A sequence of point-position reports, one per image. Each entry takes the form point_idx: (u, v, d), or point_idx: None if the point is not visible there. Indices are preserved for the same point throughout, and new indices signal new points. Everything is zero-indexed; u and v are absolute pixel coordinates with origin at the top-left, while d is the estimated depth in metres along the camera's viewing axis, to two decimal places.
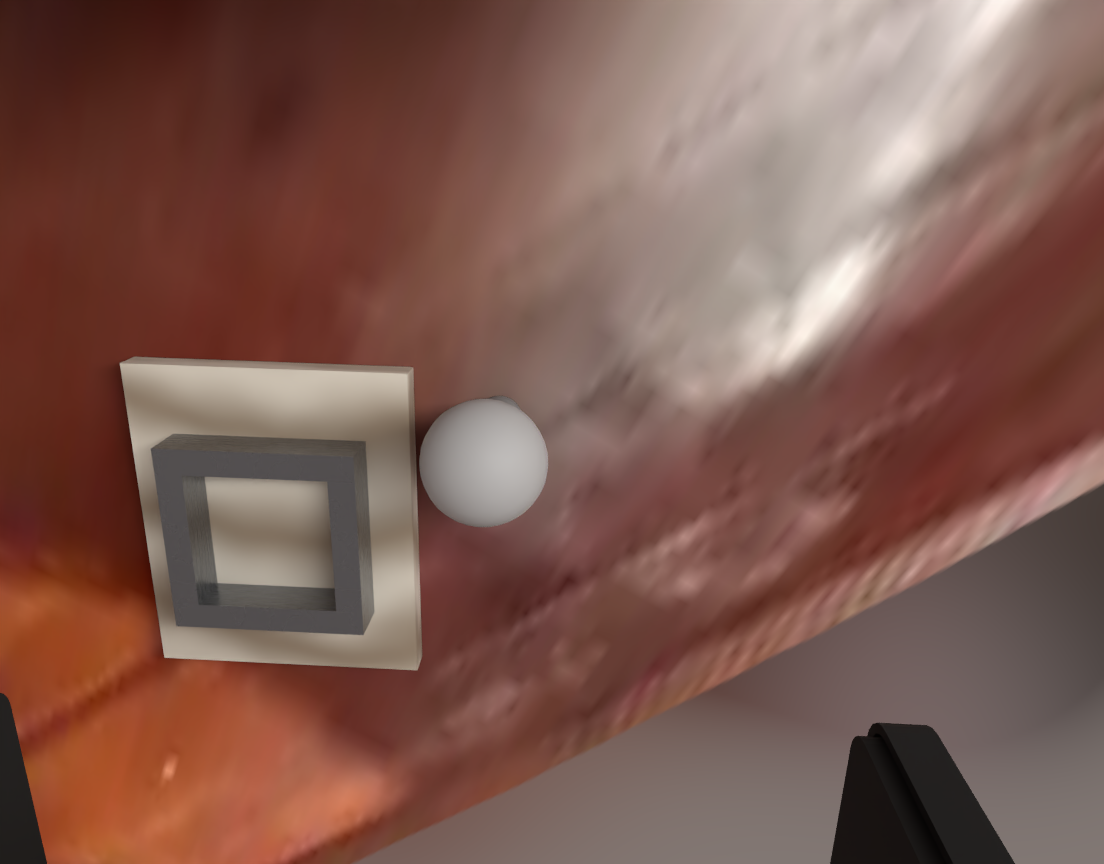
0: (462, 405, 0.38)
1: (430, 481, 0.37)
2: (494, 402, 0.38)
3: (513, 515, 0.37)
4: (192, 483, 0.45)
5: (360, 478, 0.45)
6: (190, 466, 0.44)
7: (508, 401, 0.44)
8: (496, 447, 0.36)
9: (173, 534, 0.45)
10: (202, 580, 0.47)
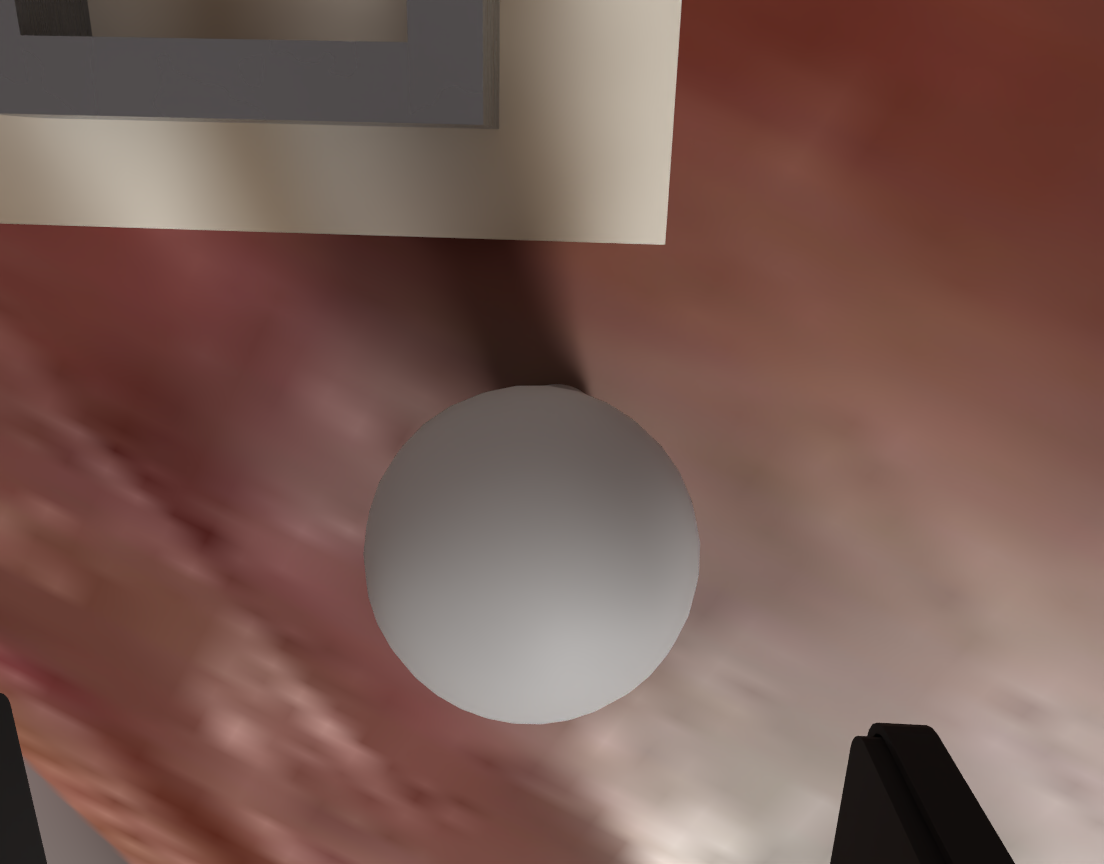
0: (694, 514, 0.14)
1: (511, 485, 0.12)
2: None
3: None
4: None
5: (413, 125, 0.18)
6: None
7: None
8: (621, 671, 0.13)
9: None
10: None
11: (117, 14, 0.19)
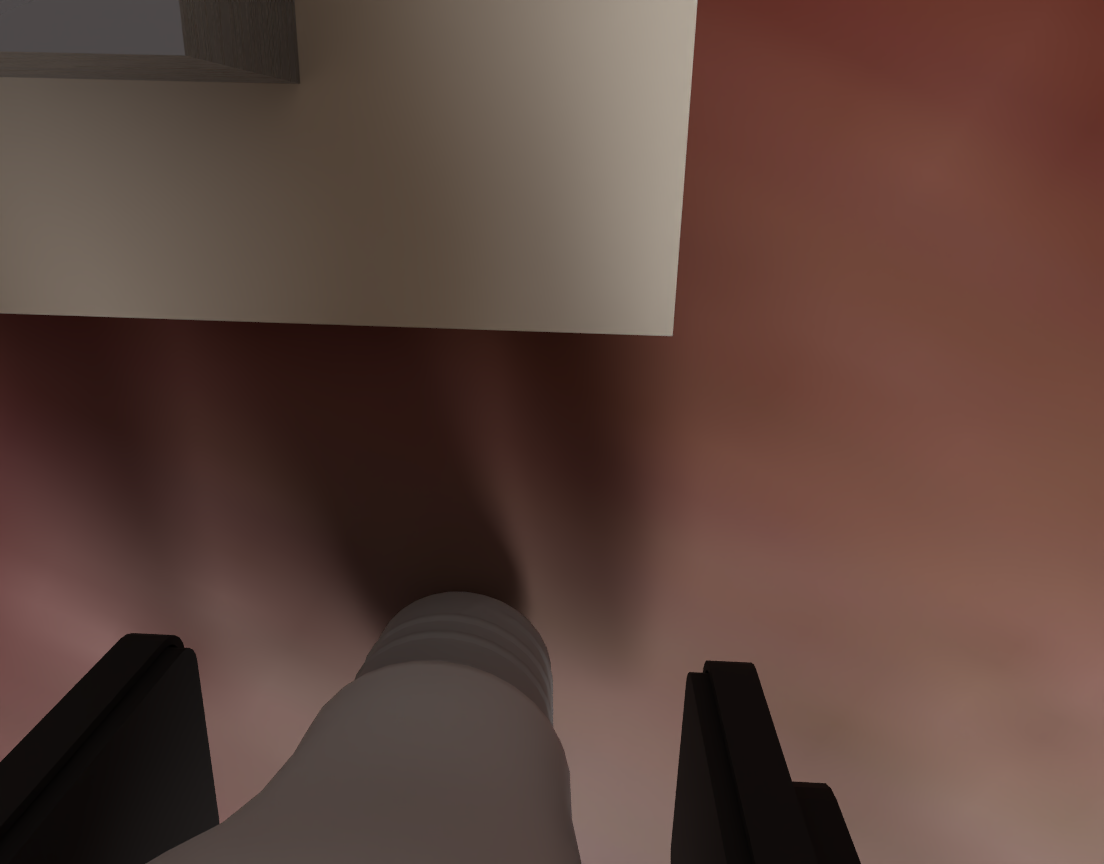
0: None
1: None
2: None
3: None
4: None
5: (54, 66, 0.07)
6: None
7: None
8: None
9: None
10: None
11: None
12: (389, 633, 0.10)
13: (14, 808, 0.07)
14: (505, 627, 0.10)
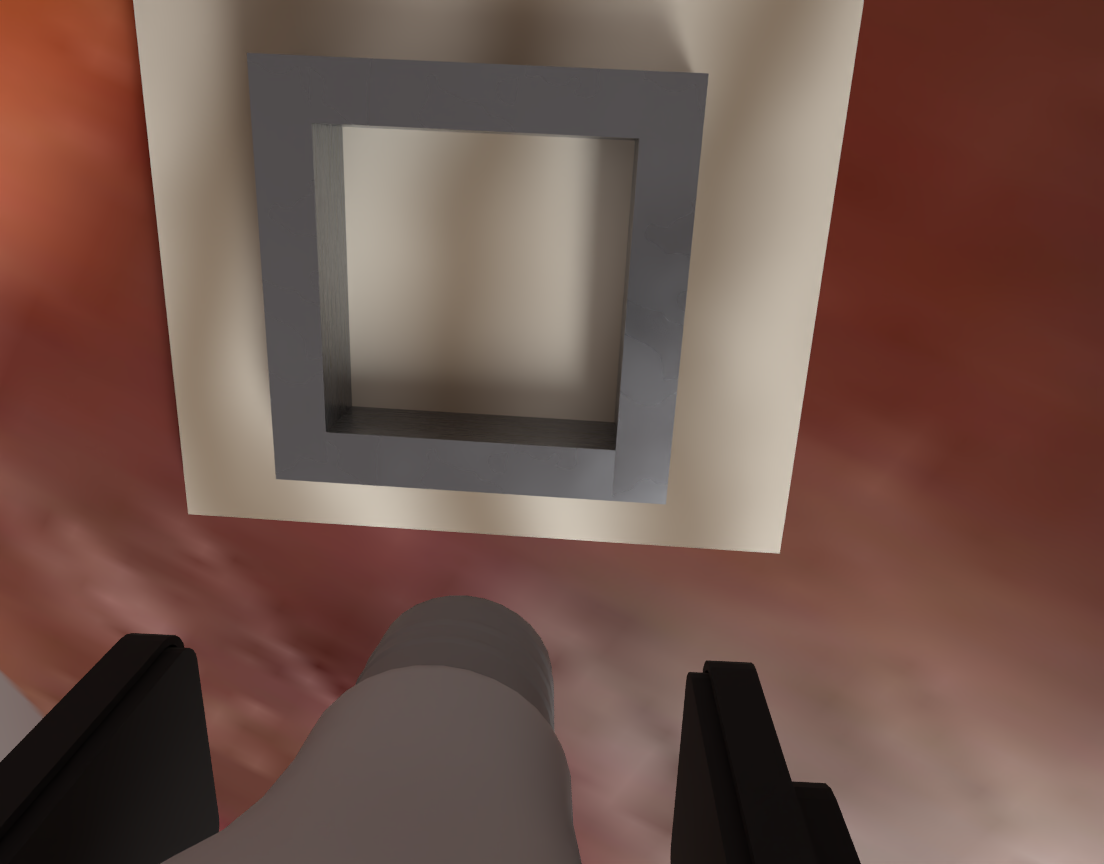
0: None
1: None
2: None
3: None
4: (602, 137, 0.21)
5: None
6: (660, 164, 0.20)
7: None
8: None
9: (492, 91, 0.19)
10: (366, 126, 0.20)
11: (373, 383, 0.24)
12: (390, 637, 0.10)
13: (14, 808, 0.07)
14: (506, 631, 0.10)
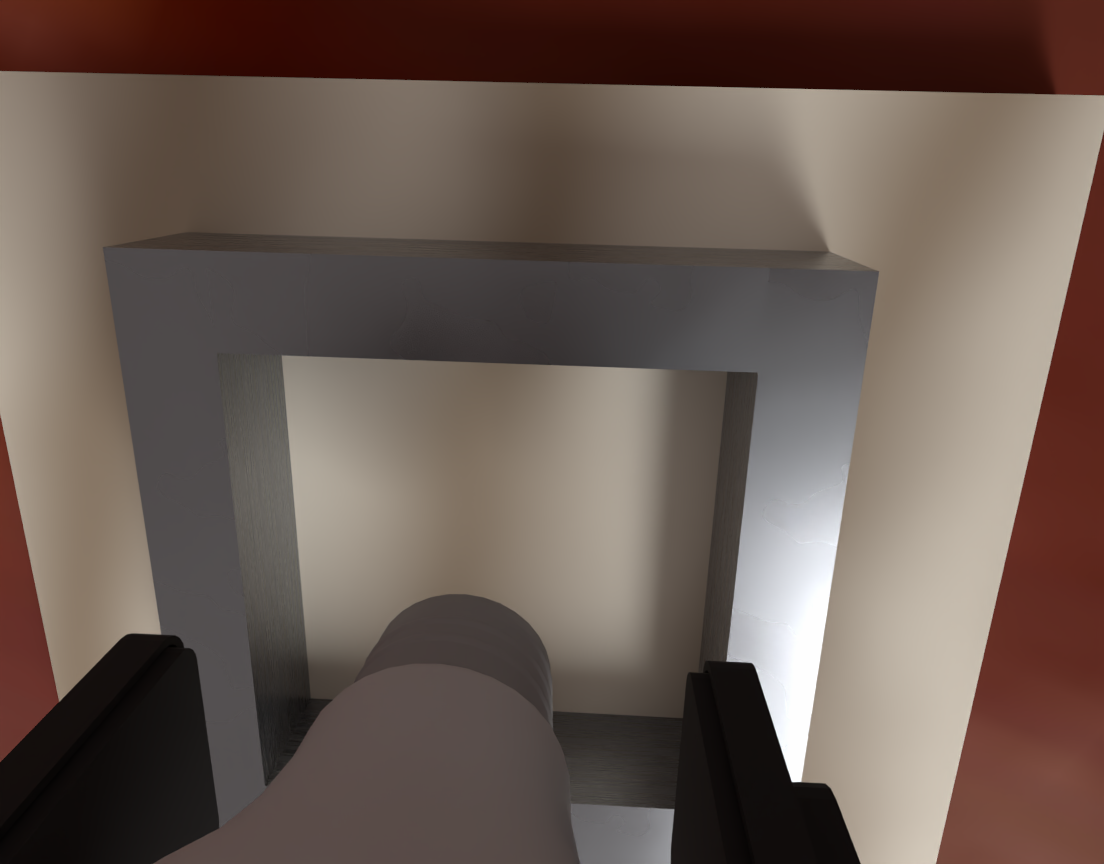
0: None
1: None
2: None
3: None
4: None
5: None
6: (792, 411, 0.12)
7: None
8: None
9: (513, 302, 0.12)
10: None
11: (340, 668, 0.17)
12: (389, 635, 0.10)
13: (14, 808, 0.07)
14: (505, 630, 0.10)
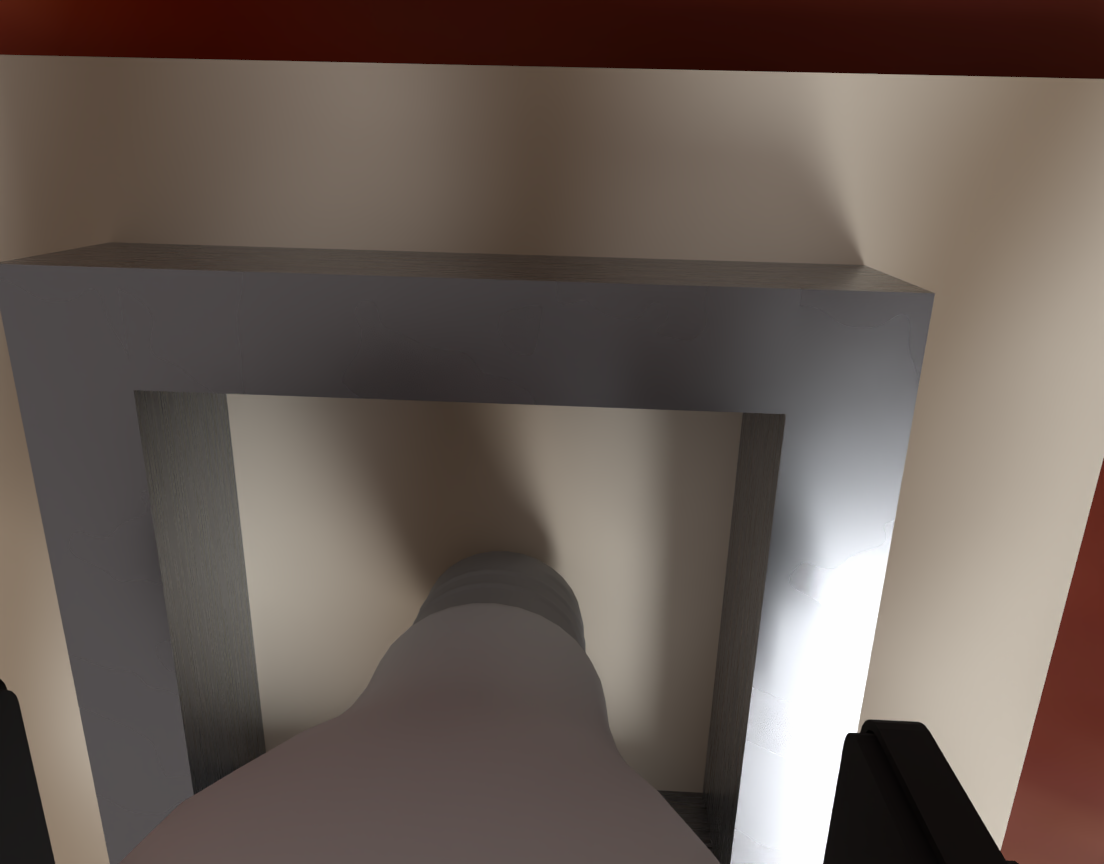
0: None
1: None
2: None
3: None
4: None
5: None
6: (826, 459, 0.10)
7: None
8: None
9: (489, 330, 0.10)
10: None
11: None
12: (442, 586, 0.12)
13: None
14: (544, 580, 0.12)
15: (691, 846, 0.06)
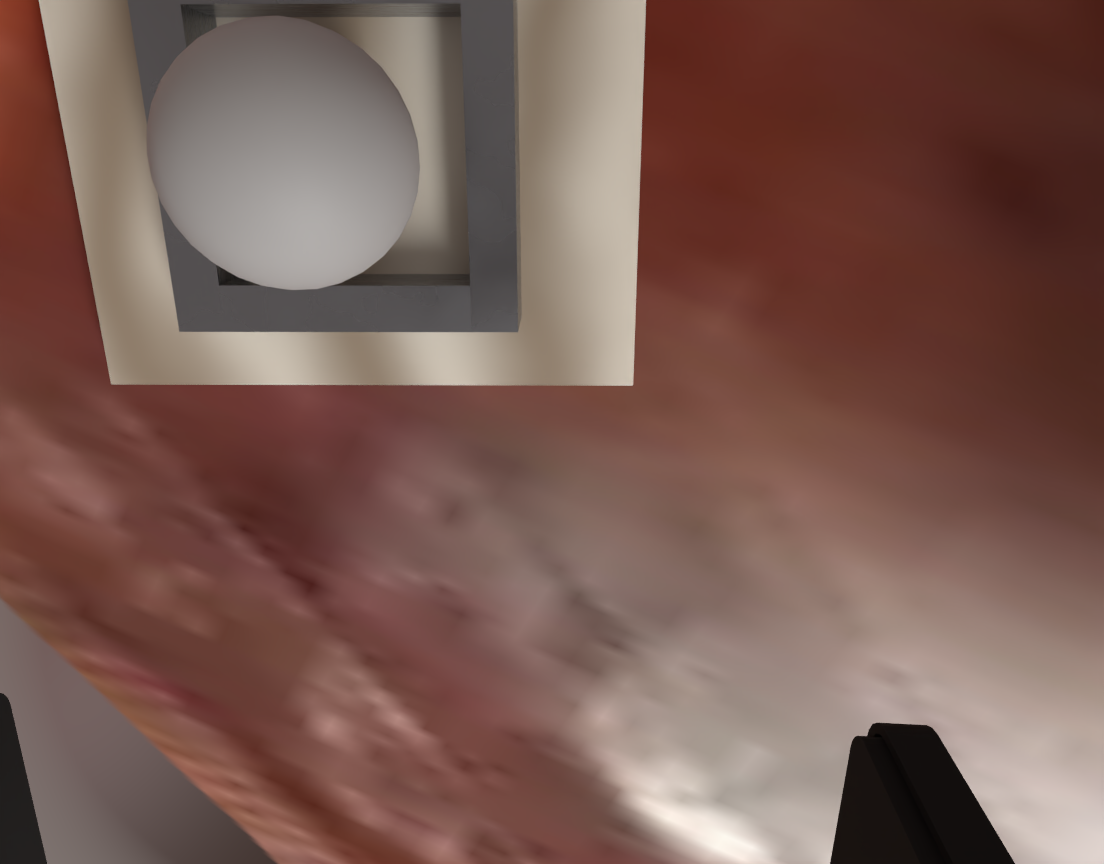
0: (407, 116, 0.19)
1: (238, 49, 0.17)
2: (417, 181, 0.19)
3: (188, 235, 0.18)
4: (434, 9, 0.24)
5: None
6: (480, 25, 0.23)
7: None
8: (336, 204, 0.17)
9: None
10: (230, 8, 0.24)
11: None
12: None
13: None
14: None
15: None
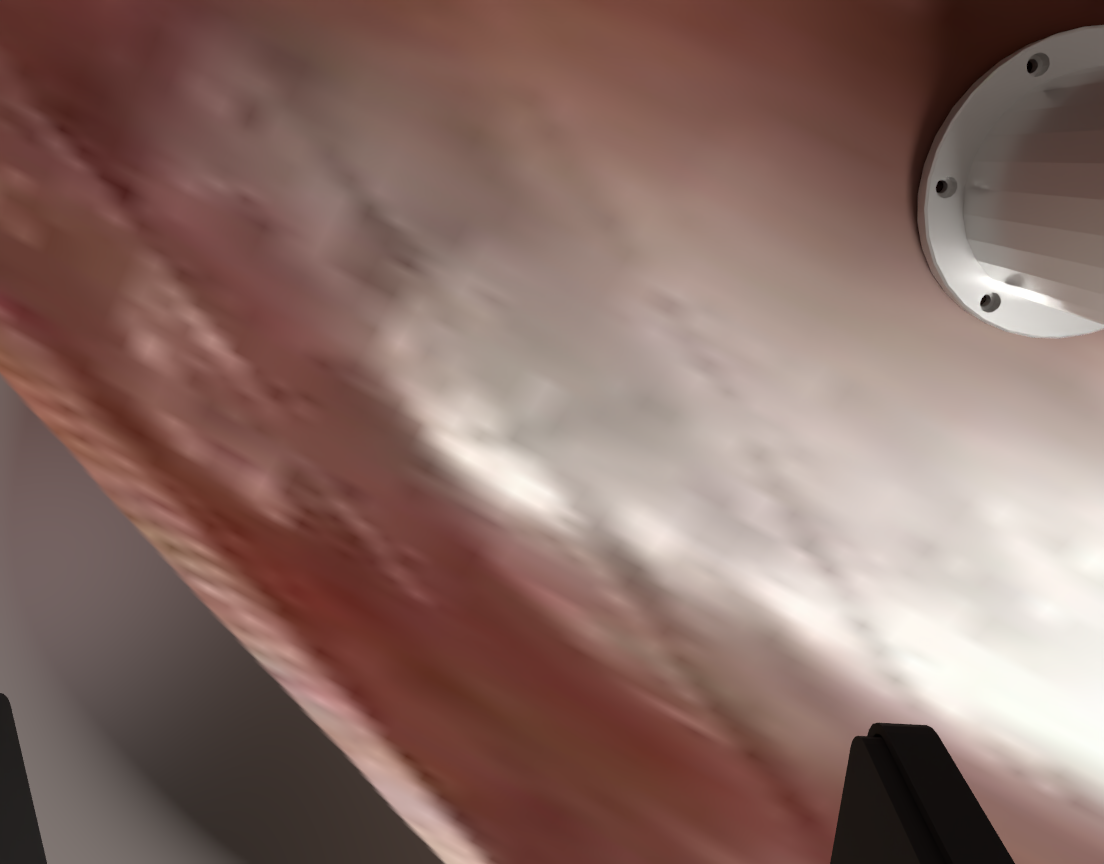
0: None
1: None
2: None
3: None
4: None
5: None
6: None
7: None
8: None
9: None
10: None
11: None
12: None
13: None
14: None
15: None
